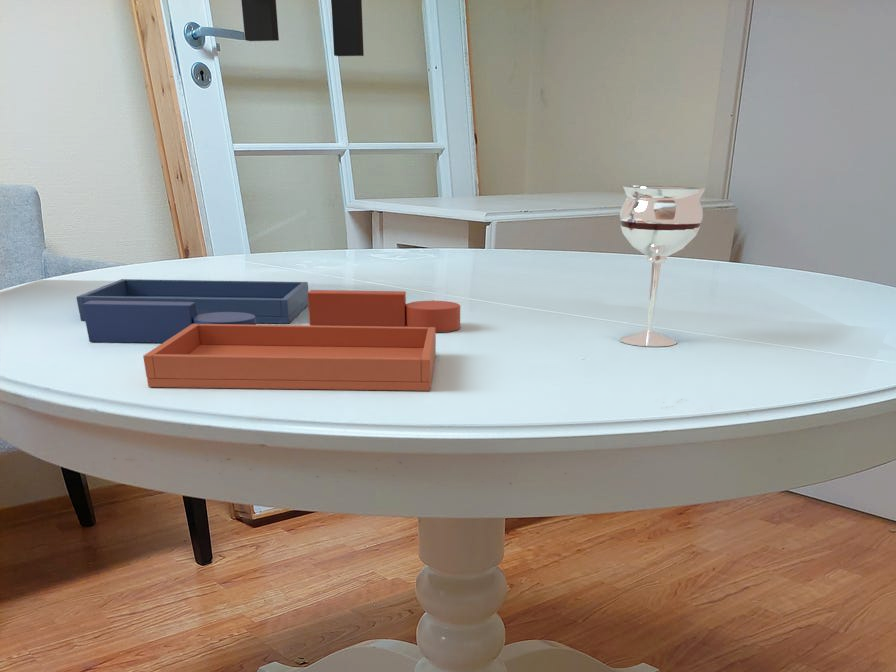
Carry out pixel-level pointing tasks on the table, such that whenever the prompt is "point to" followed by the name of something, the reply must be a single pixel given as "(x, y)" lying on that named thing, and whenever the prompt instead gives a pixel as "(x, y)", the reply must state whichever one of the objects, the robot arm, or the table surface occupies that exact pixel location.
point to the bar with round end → (380, 310)
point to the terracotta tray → (295, 357)
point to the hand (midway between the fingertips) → (308, 49)
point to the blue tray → (211, 296)
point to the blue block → (149, 320)
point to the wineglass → (659, 236)
